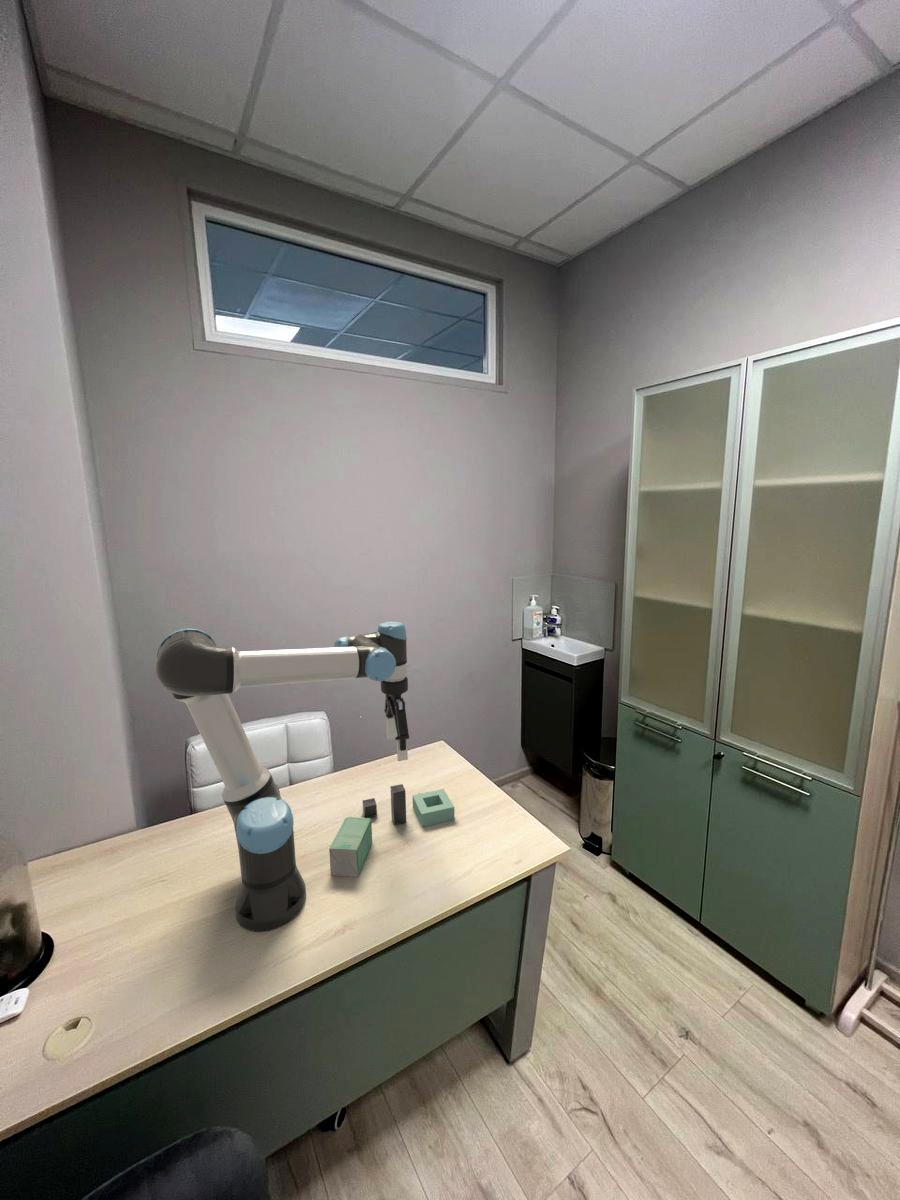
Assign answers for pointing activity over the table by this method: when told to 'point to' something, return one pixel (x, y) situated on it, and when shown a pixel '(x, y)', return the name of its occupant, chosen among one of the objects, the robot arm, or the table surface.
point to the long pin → (398, 804)
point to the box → (350, 846)
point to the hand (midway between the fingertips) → (397, 748)
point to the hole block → (433, 807)
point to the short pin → (369, 808)
